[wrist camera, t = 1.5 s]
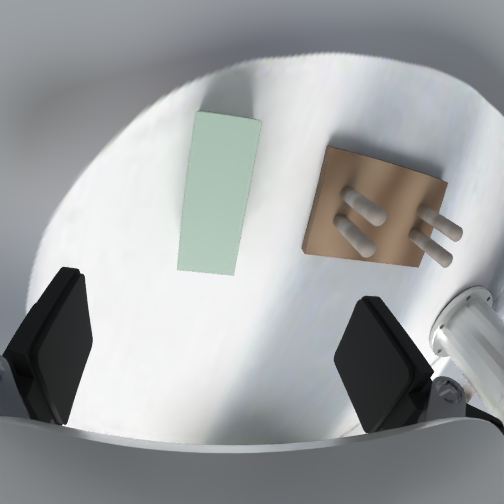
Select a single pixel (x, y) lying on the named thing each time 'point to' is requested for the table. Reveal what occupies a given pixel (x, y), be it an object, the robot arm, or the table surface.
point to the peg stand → (376, 212)
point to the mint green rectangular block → (216, 191)
